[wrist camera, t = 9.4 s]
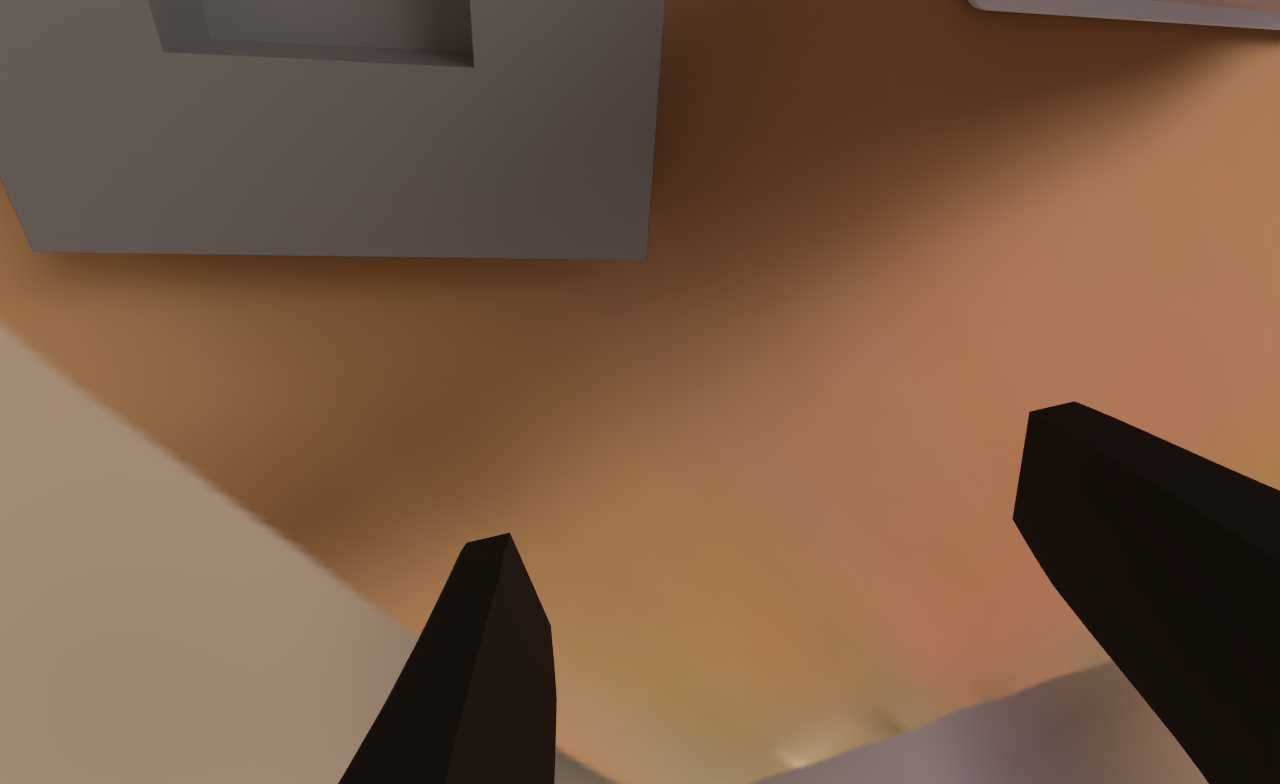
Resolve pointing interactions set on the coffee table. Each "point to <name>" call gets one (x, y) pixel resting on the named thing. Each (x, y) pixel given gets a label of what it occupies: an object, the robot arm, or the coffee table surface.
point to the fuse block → (332, 126)
